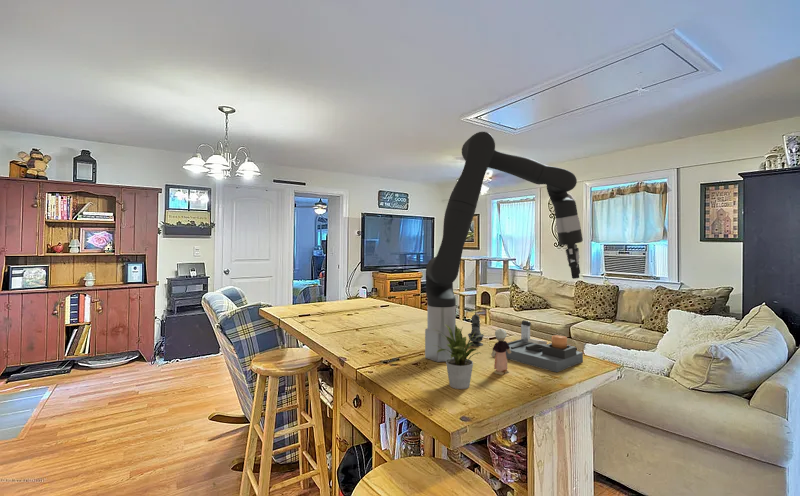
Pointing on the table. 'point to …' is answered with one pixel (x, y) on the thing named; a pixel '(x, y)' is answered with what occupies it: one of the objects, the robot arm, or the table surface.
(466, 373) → the house plant
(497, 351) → the grandmother figurine
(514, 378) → the table surface
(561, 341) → the push button
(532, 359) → the control panel
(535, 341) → the rocker switch
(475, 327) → the dark grey ornate statuette
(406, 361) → the table surface
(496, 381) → the table surface
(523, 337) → the slide lever
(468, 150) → the robot arm
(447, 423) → the table surface
